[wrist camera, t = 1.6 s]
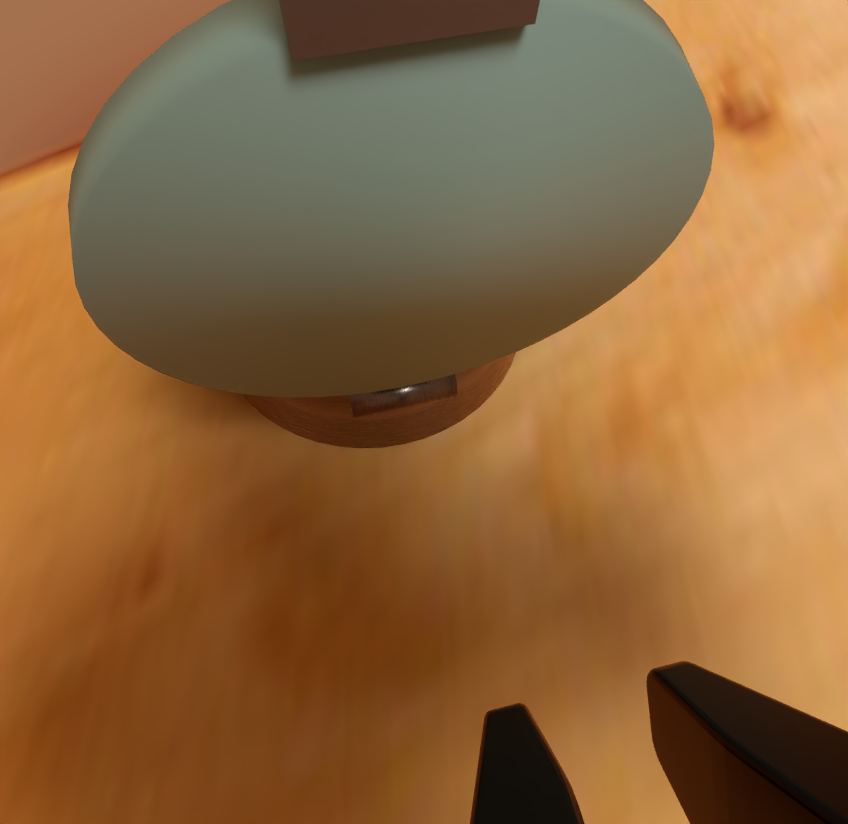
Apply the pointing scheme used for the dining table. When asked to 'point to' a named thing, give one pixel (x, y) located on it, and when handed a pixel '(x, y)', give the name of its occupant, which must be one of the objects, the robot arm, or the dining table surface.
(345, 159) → the lid
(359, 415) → the cooker pot
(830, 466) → the dining table surface
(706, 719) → the robot arm
